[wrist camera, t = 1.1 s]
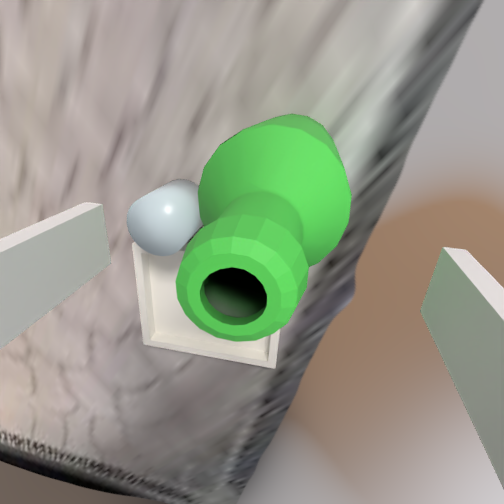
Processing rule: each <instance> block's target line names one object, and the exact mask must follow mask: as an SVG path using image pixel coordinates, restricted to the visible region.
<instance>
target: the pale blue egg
mask: <svg viewBox="0 0 504 504" xmlns="http://www.w3.org/2000/svg"><path fill="white" fill-rule="evenodd" d="M198 189H199V186H198V185H197V184H195V183H193V182H191V181H189V180H185V179H176V180H173V181H170V182H169V183H167V184H165V185H163V186H161V187H160V188H158V189H156V190H154V191H152V192H150V193H149V194H147V195H145V196H143V197H141V198H140V199H138V200H136V201H135V202H134V203H133V204H132V205H131V207H130V208H129V211H128V214H127V227H128V230H129V233H130V235H131V237H132V239H133V240H134V241H135V243H136V244H137V245H138V246H139V247H140V248H142V249H143V250H145V251H146V252H148V253H150V254H153V255H157V256H169V255H172V254H174V253H176V252H178V251H179V250H180V249H181V248H182V247H183V246H184V245H185V244H186V243H187V241H188V240H189V239H190V238H191V237H192V236H193V235H194V234H195V233H196V232H197V231H198V230H199V228H200V227H201V226H202V225H203V223H202V221H201V218H200V212H199V202H198Z"/></svg>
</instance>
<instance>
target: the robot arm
mask: <svg viewBox="0 0 504 504" xmlns="http://www.w3.org/2000/svg"><path fill="white" fill-rule="evenodd" d="M110 264H111V259H110V252H109V245H108V239H107V232H106V225H105V219H104V212H103V205H102V204H97V203H89V202H84V203H82V204H80V205H78V206H75V207H73V208H71V209H68V210H66V211H64V212H61V213H59V214H57V215H54V216H52V217H50V218H47V219H45V220H43V221H40V222H38V223H36V224H34V225H31V226H29V227H27V228H24V229H22V230H20V231H17V232H15V233H13V234H10V235H8V236H6V237H3V238H1V239H0V349H1V348H3V347H4V346H5V345H7V344H8V343H9V342H10V341H12V340H13V339H14V338H16V337H17V336H18V335H19V334H21V333H22V332H23V331H25V330H26V329H27V328H28V327H30V326H31V325H32V324H34V323H35V322H36V321H38V320H39V319H40V318H41V317H43V316H44V315H45V314H47V313H48V312H49V311H50V310H52V309H53V308H54V307H56V306H57V305H58V304H59V303H61V302H62V301H63V300H65V299H66V298H67V297H68V296H70V295H71V294H72V293H74V292H75V291H76V290H77V289H79V288H80V287H81V286H83V285H84V284H85V283H86V282H88V281H89V280H90V279H92V278H93V277H94V276H95V275H97V274H98V273H99V272H101V271H102V270H103V269H104V268H106V267H107V266H108V265H110ZM420 312H421V314H422V316H423V318H424V320H425V322H426V325H427V327H428V329H429V331H430V333H431V335H432V337H433V339H434V342H435V344H436V346H437V348H438V350H439V352H440V354H441V357H442V359H443V361H444V363H445V365H446V367H447V369H448V372H449V374H450V376H451V378H452V380H453V382H454V384H455V386H456V389H457V391H458V393H459V395H460V397H461V399H462V401H463V403H464V405H465V408H466V410H467V412H468V414H469V416H470V418H471V420H472V423H473V425H474V427H475V429H476V431H477V433H478V435H479V438H480V440H481V442H482V444H483V446H484V448H485V450H486V453H487V455H488V457H489V459H490V461H491V463H492V465H493V467H494V469H495V472H496V474H497V476H498V478H499V480H500V482H501V484H502V487H503V489H504V288H503V287H502V286H501V285H500V284H499V283H498V282H497V281H496V280H495V279H494V278H493V277H492V276H491V275H490V274H489V273H488V272H487V271H486V270H485V269H484V268H483V267H482V266H481V265H480V264H479V263H478V261H476V259H474V257H473V256H472V255H471V254H470V253H469V252H468V251H467V250H463V249H455V248H447V247H443V248H442V251H441V253H440V256H439V259H438V262H437V265H436V268H435V270H434V273H433V276H432V279H431V282H430V285H429V288H428V290H427V293H426V296H425V299H424V302H423V305H422V307H421V310H420Z"/></svg>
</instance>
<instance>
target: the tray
mask: <svg viewBox="0 0 504 504" xmlns="http://www.w3.org/2000/svg"><path fill="white" fill-rule="evenodd" d="M188 243H189V242H187V243H186V244H185V245H184V246H183V247H182V248H181V249H180V250H179V251H178V252H176V253H174V254H172V255H169V256H157V255H153V254H150V253H148V252H146V251H145V250H143V249H142V248H140V247H139V246H138V245H137V244H136V243H135V242H134V243H133V244H132V249H133V257H134V266H135V275H136V283H137V292H138V301H139V310H140V318H141V327H142V336H143V345H149V346H154V347H160V348H165V349H171V350H176V351H181V352H187V353H192V354H198V355H203V356H209V357H214V358H219V359H225V360H230V361H236V362H241V363H246V364H252V365H257V366H263V367H268V368H274V369H275V366H276V360H277V353H278V345H279V337H280V329H281V328H280V329H279V330H278V331H276V332H275V333H274V334H271V335H269V336H266V337H264V338H261V339H259V340H256V341H242V342H234V341H230V340H225V339H221V338H216V337H214V336H213V335H211V334H209V333H207V332H205V331H203V330H201V329H199V328H198V327H197V326H196V325H195V324H194V323H193V322H192V321H191V320H190V319H189V318H188V317H187V316H186V315H185V313H184V311H183V309H182V307H181V305H180V303H179V301H178V299H177V292H176V283H175V281H176V277H177V274H178V271H179V267H180V264H181V261H182V258H183V256H184V253H185V250H186V247H187V244H188Z"/></svg>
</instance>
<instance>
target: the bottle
mask: <svg viewBox="0 0 504 504" xmlns="http://www.w3.org/2000/svg"><path fill="white" fill-rule="evenodd" d="M351 196H352V194H351V191H350V187H349V184H348V180H347V177H346V173H345V169H344V166H343V164H342V161H341V158H340V156H339V153H338V151H337V148H336V146H335V144H334V141H333V139H332V137H331V136H330V135H329V133H328V132H327V131H326V129H325V128H324V127H323V125H321V124H320V123H318V122H316V121H315V120H313V119H311V118H310V117H308V116H302V115H296V114H288V115H283V116H279V117H275V118H272V119H269V120H266V121H264V122H261V123H259V124H256V125H253V126H251V127H248V128H246V129H243V130H242V131H240V132H239V133H237V134H236V135H234V136H233V137H231V138H230V139H228V140H227V141H225V142H224V143H222V144H220V146H219V147H218V148H217V150H216V151H215V153H214V154H213V155H212V157H211V158H210V160H209V161H208V162H207V164H206V165H205V167H204V169H203V173H202V177H201V181H200V185H199V189H198V202H199V212H200V218H201V221H202V223H203V225H204V227H203V228H201V229H200V230H199V231H198V232H197V234H196V235H195V236H194V237H193V238H192V240H191V241H190V242H189V243H188V244H187V247H186V250H185V253H184V256H183V258H182V261H181V264H180V267H179V271H178V274H177V277H176V281H175V283H176V292H177V299H178V301H179V303H180V305H181V307H182V309H183V311H184V313H185V315H186V316H187V317H188V318H189V319H190V320H191V321H192V322H193V323H194V324H195V325H196V326H197V327H198V328H199V329H201V330H203V331H205V332H207V333H209V334H211V335H213V336H214V337H216V338H221V339H225V340H230V341H234V342H242V341H256V340H259V339H261V338H264V337H266V336H269V335H271V334H274V333H275V332H276V331H278V330H279V329H280V328H282V327H283V326H284V325H286V324H287V323H288V321H289V319H290V318H291V316H292V314H293V312H294V310H295V308H296V306H297V305H298V303H299V301H300V299H301V297H302V295H303V293H304V291H305V289H306V288H307V279H308V269H309V267H310V266H312V265H315V264H317V263H319V262H320V261H321V260H322V259H323V258H324V257H325V256H326V255H327V254H328V253H330V252H331V251H332V250H333V249H334V248H335V247H336V246H337V244H338V242H339V240H340V238H341V236H342V235H343V233H344V231H345V229H346V227H347V225H348V222H349V213H350V204H351Z"/></svg>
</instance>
